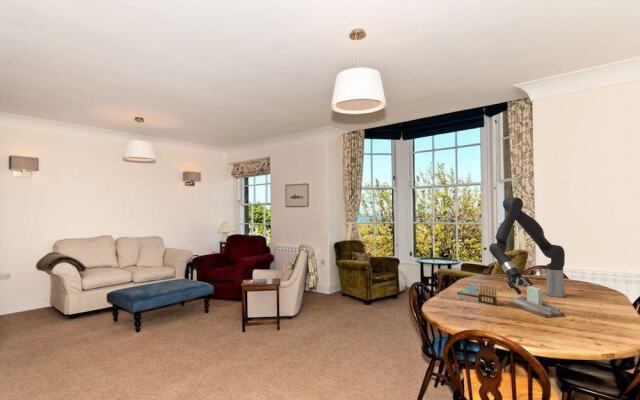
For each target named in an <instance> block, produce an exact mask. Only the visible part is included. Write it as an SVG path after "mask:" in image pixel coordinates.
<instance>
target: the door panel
mask: <svg viewBox="0 0 640 400" xmlns="http://www.w3.org/2000/svg"><path fill="white" fill-rule="evenodd" d="M526 298H527V301H529V302H532V303H535V304H538V305H541V306H542V303H543V289H542V288H539V287H535V286H528V285H527V288H526Z"/></svg>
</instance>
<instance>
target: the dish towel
mask: <svg viewBox="0 0 640 400" xmlns="http://www.w3.org/2000/svg"><path fill="white" fill-rule="evenodd" d="M481 289H482V287H481ZM484 290H485V287H484ZM487 291H488V288H487ZM490 291H491V288H490ZM493 291H494V289H493ZM456 295H459V296H460V295H461V296H464V297H465V296H466V297H472V298H478V299H479V287H476V286H472V285H470V286H469V287H466V288H464V289H462V290H459V291H457V292H456Z"/></svg>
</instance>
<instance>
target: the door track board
mask: <svg viewBox="0 0 640 400" xmlns="http://www.w3.org/2000/svg"><path fill="white" fill-rule="evenodd" d="M508 305H509V306H511V307H515V308H517V309H518V310H519V309H520V310H522V311H525V312H529V313H531V314H534V315H537V316H540V317H542V318H547V319H548V318H549V319H550V318H559V317H565V315H566V314H565V313H564V312H561V308H560V307H559V306H555V305H552V304H549V303H546V302H542V306H541V305H538V304H535V303H532V302H529V301H527V296H523V295H521V296H520V298H519V297H516V296H512V301H509V302H508Z"/></svg>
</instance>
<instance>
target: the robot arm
mask: <svg viewBox="0 0 640 400" xmlns="http://www.w3.org/2000/svg"><path fill="white" fill-rule="evenodd" d="M502 206H503V209H504V210H505V211H506V212H507V215H506V217H505V219H504V220H503V221H502V222H501V223H500V225H499V227H498V228H497V232H496V235H495V241H496V243H495V242H493V243H491V244H490V245H489V246H488V247H489V252H490V254H491V255H492V256H493V257H494V258H495V259H496V261H497V262H498V264H499V265H500V267H501V268H502V270H503V272H504V273H505V275H506V277H507V279H506V283H507V284H508V287H509V289H513V290H515V292H516V294H517V295H521V294H522V291H521V290H520V288H519V286H522V287H525V288H526V289H527V286H531V287H533V285H534V284H533V282H532V281H531V279H529V278H528V276H525V277H523V276H522V272H520V270H519V269H518V267H517V266H516V264H515V263H514V261H512V259H511V258H510V256H508V254H507V253H506V252H507V245H508V239H509V236H510V234H511V230H512V228H513V225H514V224H515V222H517V224H519V226H520V227H521V228H522V229H523V230H524V232H525V233H526V234H527V235H528V236H529V237H530V238H531V240H532V241H533V242H534V243H535V244H536V245H537V246H538V248H539V249H540V251H541V252H542V254H543V255H544V257H546V258H548V259H550V262H549V263H546V265H545V267H546V269H545V270H546V294H547V296H550V297H555V298H563V297H565V296H566V283H565V282H566V281H565V280H564V267H565V261H566V260H565V258H566V257H565V249H564V248H563V246H561V245H558V244H552V243H551V242H550V241H549V240H548V239H547V238H546V236H545V232H544V229H543V227H542V226H541V225H540V223H539V222H538V221H537V220H536V219H535V218H533V217H532V216H530V215H528V214H527V213H525V212H524V211H523V210H522V209H523V206H524V202H523V200H522V199H521V198H519V197H507V198H505V199H504V200H503V201H502Z"/></svg>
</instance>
